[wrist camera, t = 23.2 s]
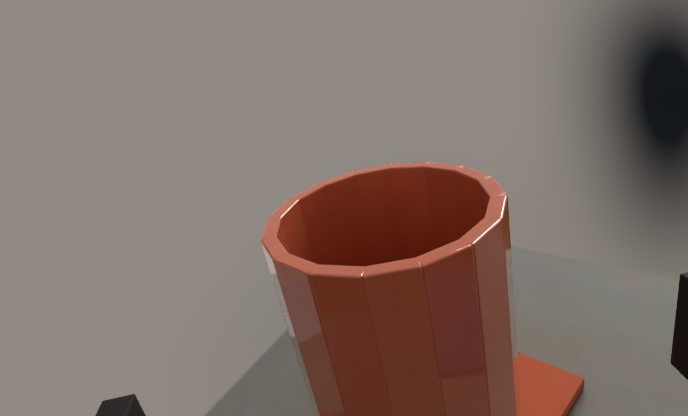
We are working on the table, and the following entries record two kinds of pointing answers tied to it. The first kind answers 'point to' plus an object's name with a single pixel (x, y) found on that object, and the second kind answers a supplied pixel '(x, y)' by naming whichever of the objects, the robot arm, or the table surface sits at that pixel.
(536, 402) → the terracotta mat
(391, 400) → the cup
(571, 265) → the table surface
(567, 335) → the table surface
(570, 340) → the table surface
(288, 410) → the table surface
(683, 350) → the robot arm
